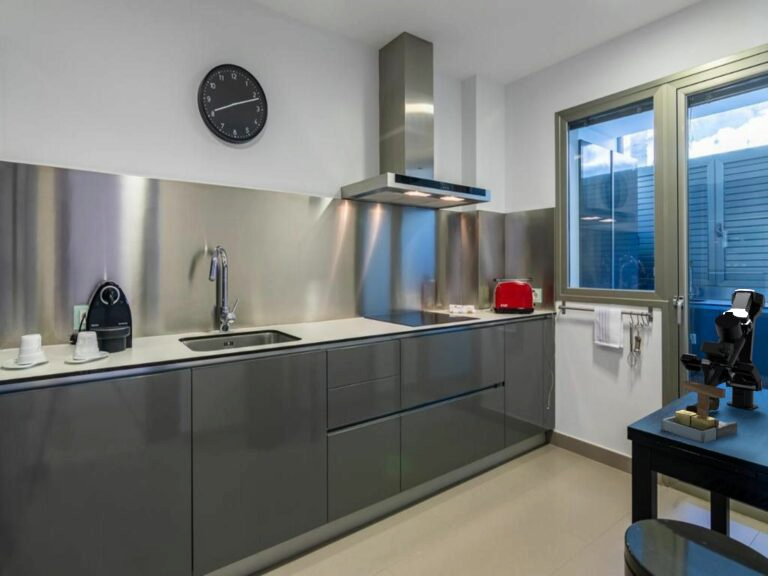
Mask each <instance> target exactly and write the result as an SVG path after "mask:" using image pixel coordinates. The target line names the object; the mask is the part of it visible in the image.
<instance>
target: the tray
mask: <svg viewBox="0 0 768 576" xmlns="http://www.w3.org/2000/svg"><path fill="white" fill-rule="evenodd" d="M660 421H661V424H660V427H661V428H660V429H662V431H664V430H665V431H664V432H667V431H668V432H667V433H670V432H671V434H673V433H674V434H673V435H677V436H679V437H682V438H685V439H689V440H692V441H694V442H699V443H701V444H705V443H709V442H711V441H715V440H717V439H716V428H712V429H708V430H705V431H700V430H696V429H693V428H690V427H687V426H683V425H680V424H677V423H676V422H675V415H673V416H670V417H666V418H662V419H661V420H660Z"/></svg>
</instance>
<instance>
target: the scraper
mask: <svg viewBox="0 0 768 576" xmlns="http://www.w3.org/2000/svg"><path fill="white" fill-rule="evenodd" d="M682 390H684V391H688V392H692V393H696V394H697V399H696V400H697V401H696V403H697V414H698V415H699V414H700V415H704V416H707V417H710V416H709V415H710V414H709V413H710V411H709V396H713V397H717V398H719V399H725V398H726V388H722V387H718V386H716V387H714V386H709V385H704V383H700V382H699V383H698V382H695V381H689V380H685V381H682ZM719 421H720V420H719V419H717V418H715V427H717V426H719Z"/></svg>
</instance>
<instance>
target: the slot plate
mask: <svg viewBox="0 0 768 576" xmlns="http://www.w3.org/2000/svg"><path fill="white" fill-rule="evenodd" d="M691 412H693V413H696V412H694V411H691ZM676 423H677V422H676ZM677 424H680V423H677ZM680 425H683V426H687V425H684V424H680ZM687 427H690V428H693V427H691V426H687ZM714 428H716V439H715V440H719V439H722V438H725V437H728V436H731V435H734V434H737V433H738V421H732V422H725V421H723V420H719V426H717V427H714ZM693 429H696V430H700V429H697V428H693ZM700 431H703V430H700Z"/></svg>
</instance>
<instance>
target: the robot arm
mask: <svg viewBox="0 0 768 576" xmlns="http://www.w3.org/2000/svg"><path fill="white" fill-rule="evenodd" d="M730 304H731V306H730V309H729V310H727V311H724V312H723V313H722V314H720V315H718V316H717V317H715V318H714V325H715V329H716V332H717V336H718V338H719V339H718V341H717V342H715V341H706V340H703V341H702V342H701V343H702V344H701V347H700V352H701V353H703V354H704V358H702V359H700V357H699V356H698V354H691V353H685V352H684V353H682V354H681V355H680V357H679V361H680V362H681V364H682V365H683V367H684V368H685V370H687V371H690V372H695V373H698V372H702V373H703V378H704V379H703V384H704V385H709V386H714V387H718V386H720V385H722V384H724V383H725V387H727V388H731V401H729V402H726V405H728V406H732V407H737V408H741V409H744V410H745V409H746V410H752V409H757V408H759V405H758V404H755V402H754V400H755V399H754V398H755V392H757V393H758V392H763V383H762V382H763V381H762V377H761V374H760V372H759V370H758V368H757V367H756V365H755V364H754V363H753V349H754V341H755V339H754V338H755V327H756V320H758V318H759V317H760V316H761V315H762V313H763V308H764V309H765V308H766V298H765V295H764V294H762V293H759V292H756V290H754V289H735V290H734V292H733V293H731V303H730Z"/></svg>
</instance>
